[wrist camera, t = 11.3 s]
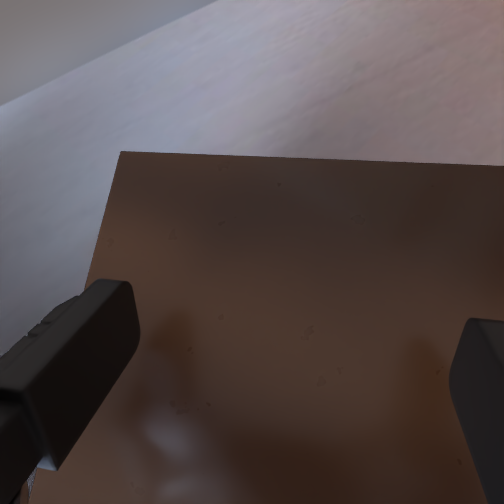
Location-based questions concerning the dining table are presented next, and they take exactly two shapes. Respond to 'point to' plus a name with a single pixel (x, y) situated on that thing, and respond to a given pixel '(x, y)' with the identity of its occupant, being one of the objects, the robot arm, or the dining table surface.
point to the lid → (289, 331)
